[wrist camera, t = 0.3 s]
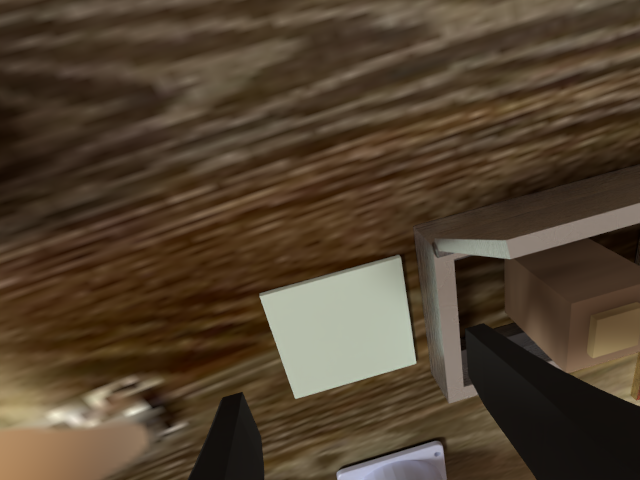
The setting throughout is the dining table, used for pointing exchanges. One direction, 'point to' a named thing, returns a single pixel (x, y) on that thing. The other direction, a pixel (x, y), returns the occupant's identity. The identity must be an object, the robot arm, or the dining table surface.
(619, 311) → the walnut block
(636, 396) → the brass bar
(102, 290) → the dining table surface
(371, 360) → the green rubber mat
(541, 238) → the propped lid
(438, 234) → the aluminium case
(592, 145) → the dining table surface
